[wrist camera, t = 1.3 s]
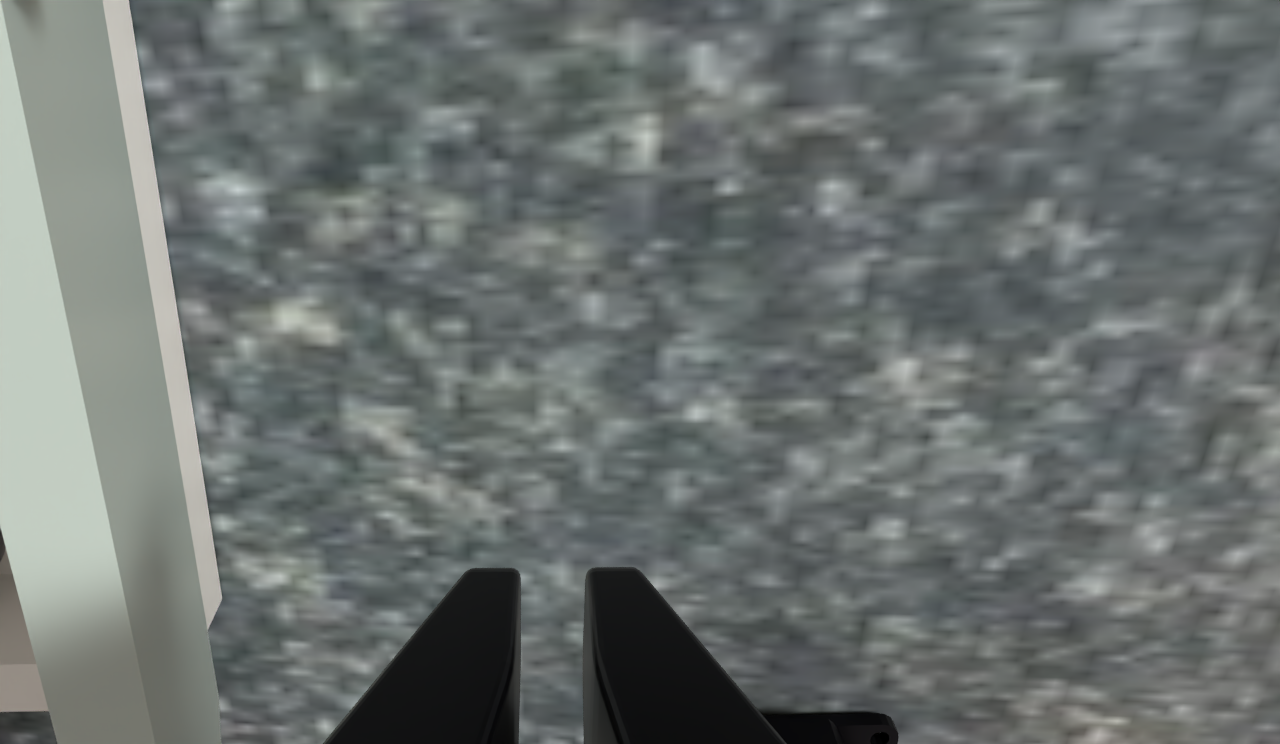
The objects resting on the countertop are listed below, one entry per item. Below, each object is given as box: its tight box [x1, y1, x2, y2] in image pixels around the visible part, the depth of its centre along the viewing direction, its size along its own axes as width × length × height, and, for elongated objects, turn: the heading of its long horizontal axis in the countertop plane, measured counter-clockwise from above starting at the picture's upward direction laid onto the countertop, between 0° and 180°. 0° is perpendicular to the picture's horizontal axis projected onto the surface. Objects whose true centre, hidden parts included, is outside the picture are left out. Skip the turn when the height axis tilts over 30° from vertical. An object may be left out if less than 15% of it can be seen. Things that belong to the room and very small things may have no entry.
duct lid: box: [0, 0, 221, 744], centre depth 12 cm, size 20×9×1 cm
